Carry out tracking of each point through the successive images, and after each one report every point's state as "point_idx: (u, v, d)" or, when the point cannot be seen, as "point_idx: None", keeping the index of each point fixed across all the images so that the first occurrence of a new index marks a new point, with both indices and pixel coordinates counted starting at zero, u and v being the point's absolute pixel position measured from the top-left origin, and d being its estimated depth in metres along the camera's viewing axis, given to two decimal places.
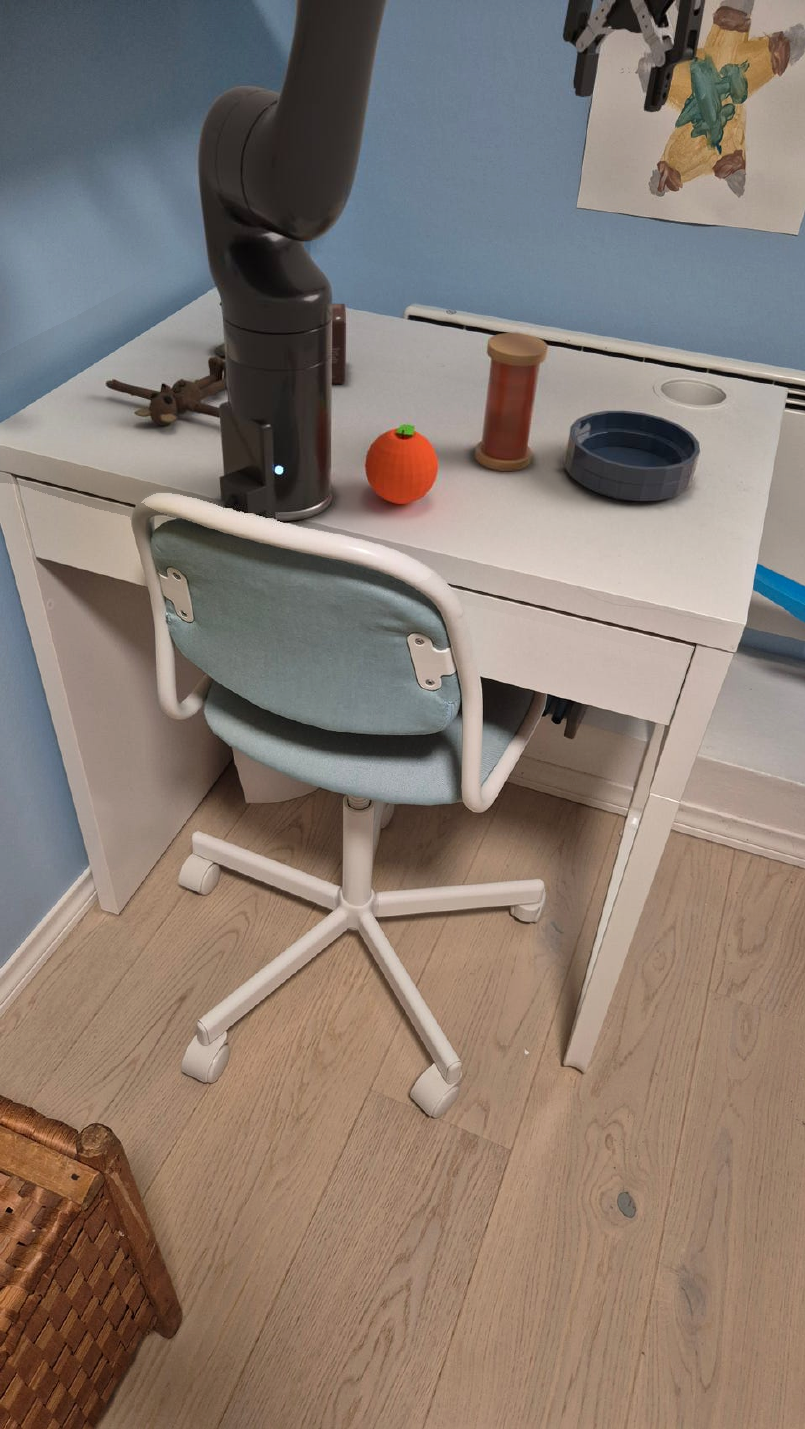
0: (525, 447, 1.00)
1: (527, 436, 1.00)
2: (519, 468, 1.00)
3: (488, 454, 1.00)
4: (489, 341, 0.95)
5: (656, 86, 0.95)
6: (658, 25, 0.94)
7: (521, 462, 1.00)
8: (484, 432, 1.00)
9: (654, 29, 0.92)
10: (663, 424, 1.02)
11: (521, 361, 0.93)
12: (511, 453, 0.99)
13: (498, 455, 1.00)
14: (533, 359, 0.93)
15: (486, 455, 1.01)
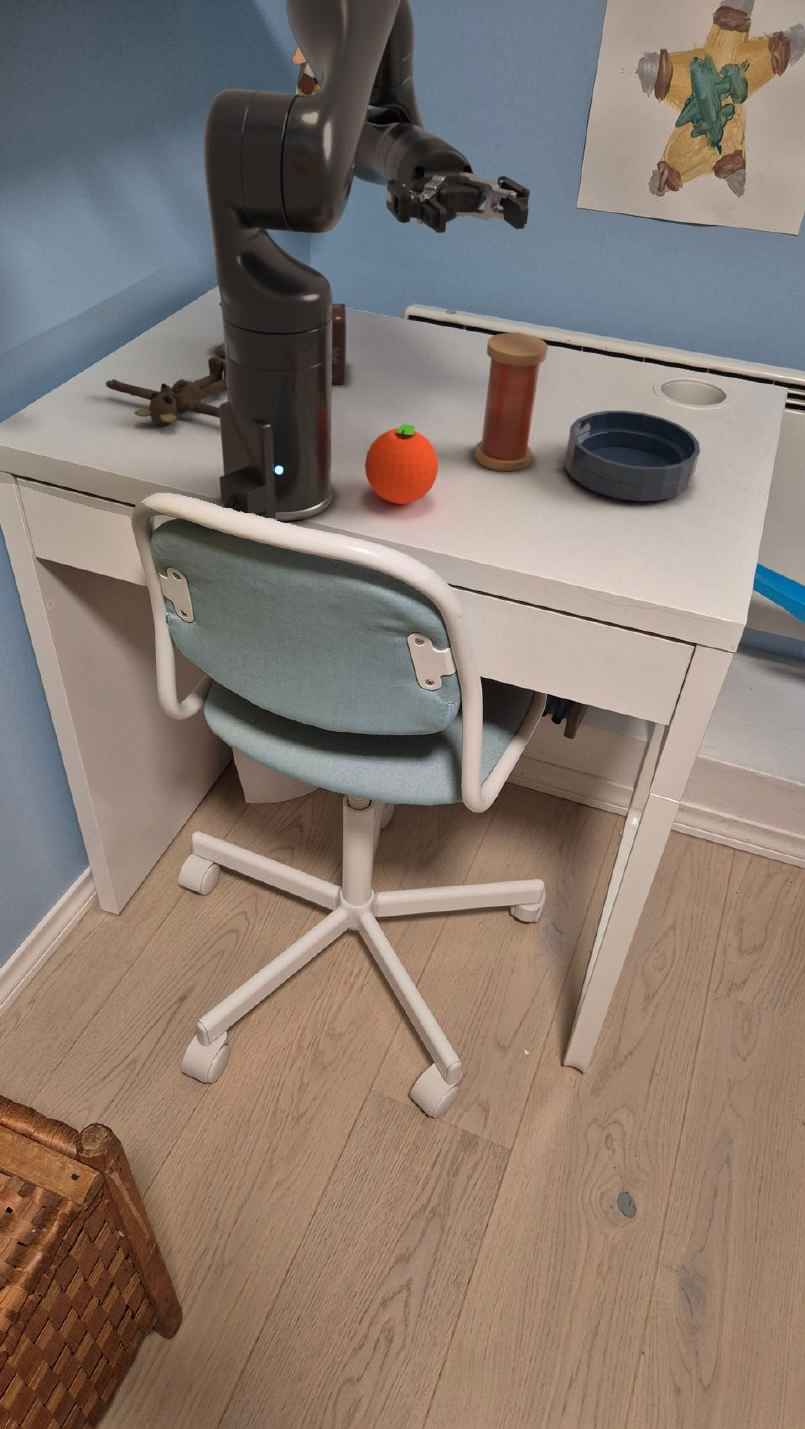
0: (525, 447, 1.00)
1: (527, 436, 1.00)
2: (519, 468, 1.00)
3: (488, 454, 1.00)
4: (489, 341, 0.95)
5: None
6: (478, 212, 1.03)
7: (521, 462, 1.00)
8: (484, 432, 1.00)
9: None
10: (663, 424, 1.02)
11: (521, 361, 0.93)
12: (511, 453, 0.99)
13: (498, 455, 1.00)
14: (533, 359, 0.93)
15: (486, 455, 1.01)
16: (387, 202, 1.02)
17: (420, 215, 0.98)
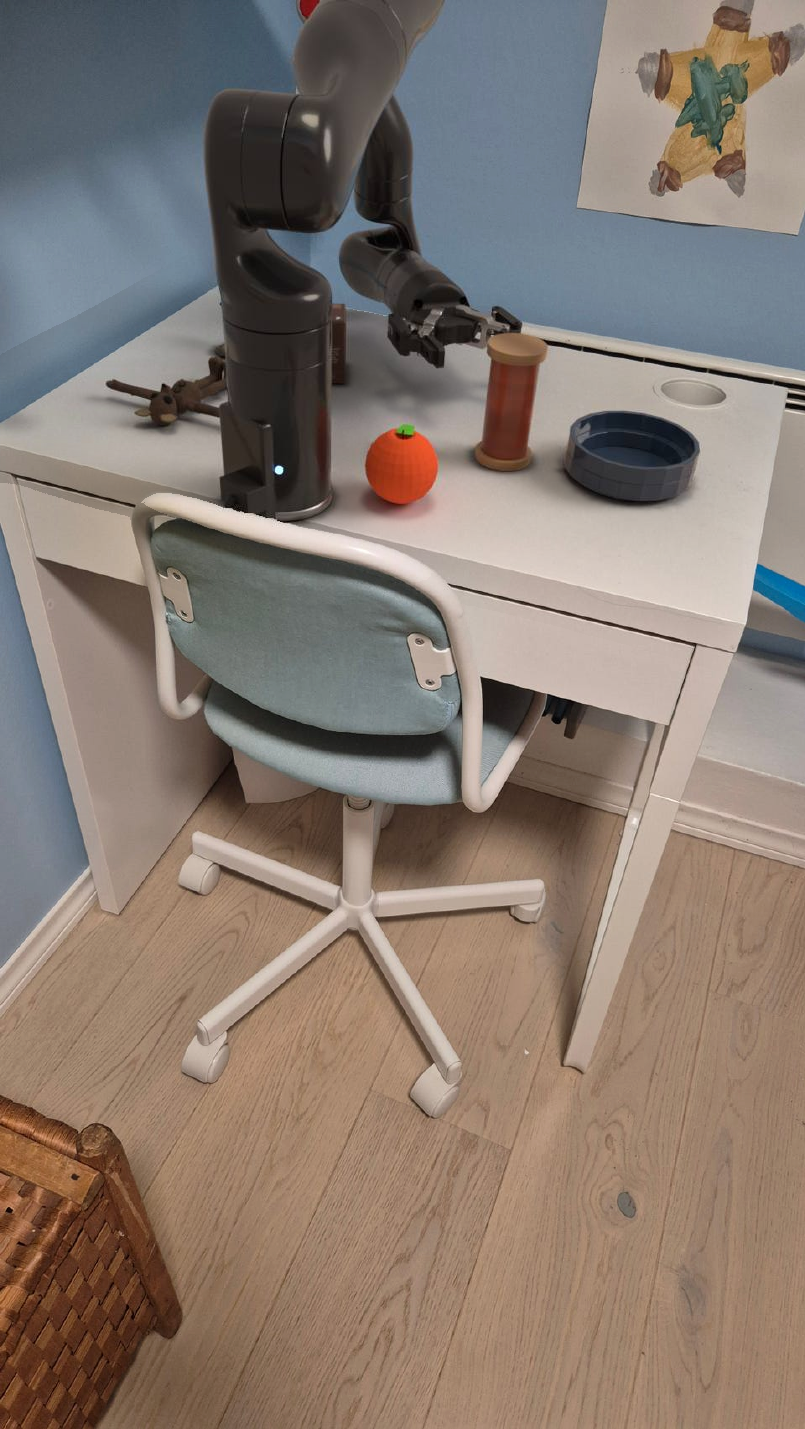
0: (525, 447, 1.00)
1: (527, 436, 1.00)
2: (519, 468, 1.00)
3: (488, 454, 1.00)
4: (489, 341, 0.95)
5: None
6: (473, 341, 1.09)
7: (521, 462, 1.00)
8: (484, 432, 1.00)
9: None
10: (663, 424, 1.02)
11: (521, 361, 0.93)
12: (511, 453, 0.99)
13: (498, 455, 1.00)
14: (533, 359, 0.93)
15: (486, 455, 1.01)
16: (388, 333, 1.08)
17: (420, 350, 1.04)
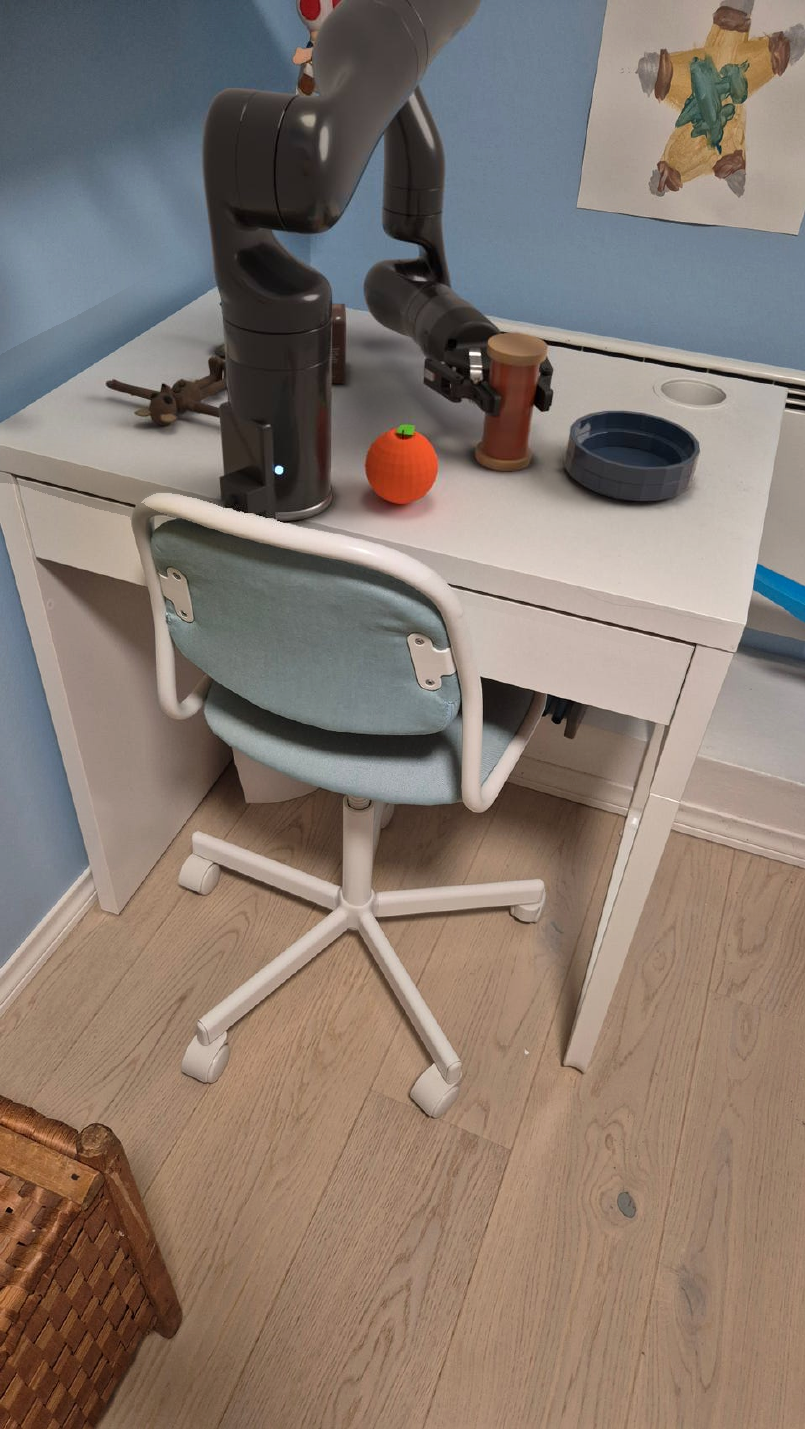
0: (525, 447, 1.00)
1: (527, 436, 1.00)
2: (519, 468, 1.00)
3: (488, 454, 1.00)
4: (489, 341, 0.95)
5: None
6: None
7: (521, 462, 1.00)
8: (484, 432, 1.00)
9: None
10: (663, 424, 1.02)
11: (521, 361, 0.93)
12: (511, 452, 0.99)
13: (498, 455, 1.00)
14: (533, 359, 0.93)
15: (486, 455, 1.01)
16: (426, 380, 1.01)
17: (473, 397, 0.97)
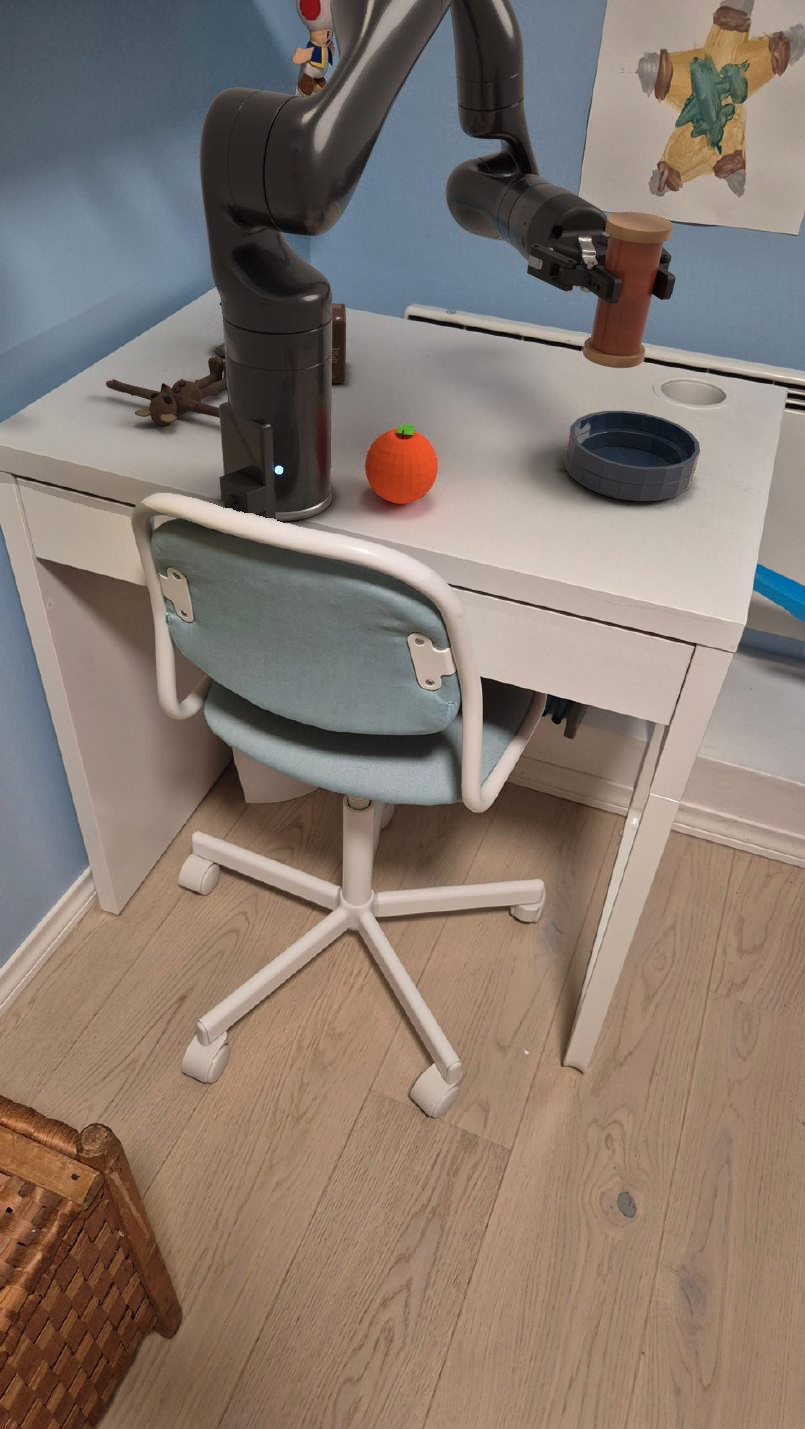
0: (640, 342, 0.92)
1: (643, 329, 0.91)
2: (633, 365, 0.92)
3: (599, 349, 0.92)
4: (608, 218, 0.86)
5: None
6: None
7: (636, 358, 0.92)
8: (596, 325, 0.91)
9: None
10: (663, 424, 1.02)
11: (646, 238, 0.84)
12: (626, 347, 0.91)
13: (611, 350, 0.91)
14: (659, 236, 0.84)
15: (597, 350, 0.92)
16: (531, 269, 0.92)
17: (586, 283, 0.89)
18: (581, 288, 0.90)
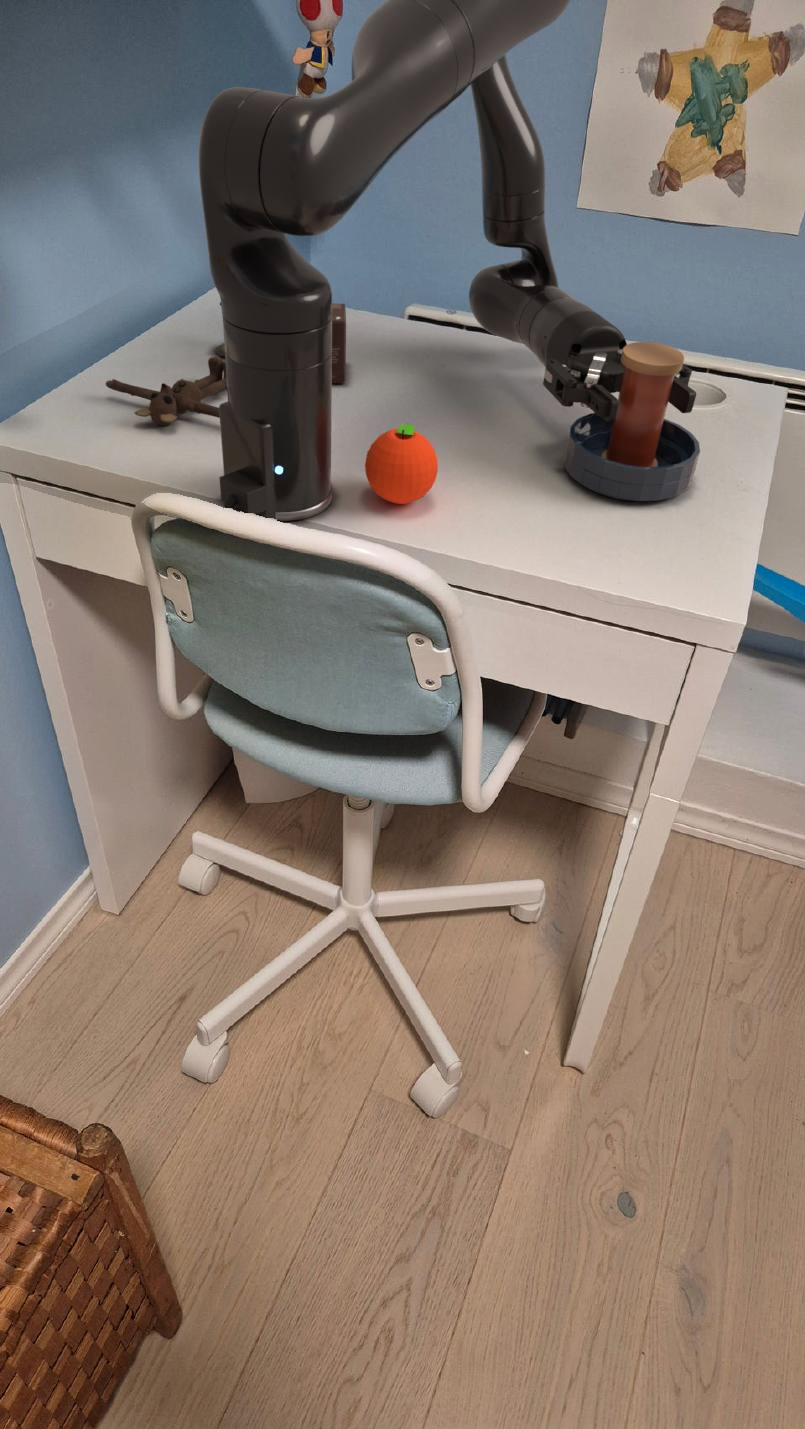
0: (653, 457, 0.99)
1: (656, 446, 0.98)
2: None
3: None
4: (624, 350, 0.93)
5: None
6: None
7: None
8: (612, 442, 0.98)
9: None
10: (663, 424, 1.02)
11: (660, 371, 0.91)
12: (640, 463, 0.98)
13: None
14: (671, 369, 0.91)
15: None
16: (545, 381, 1.00)
17: (586, 401, 0.96)
18: (580, 403, 0.97)
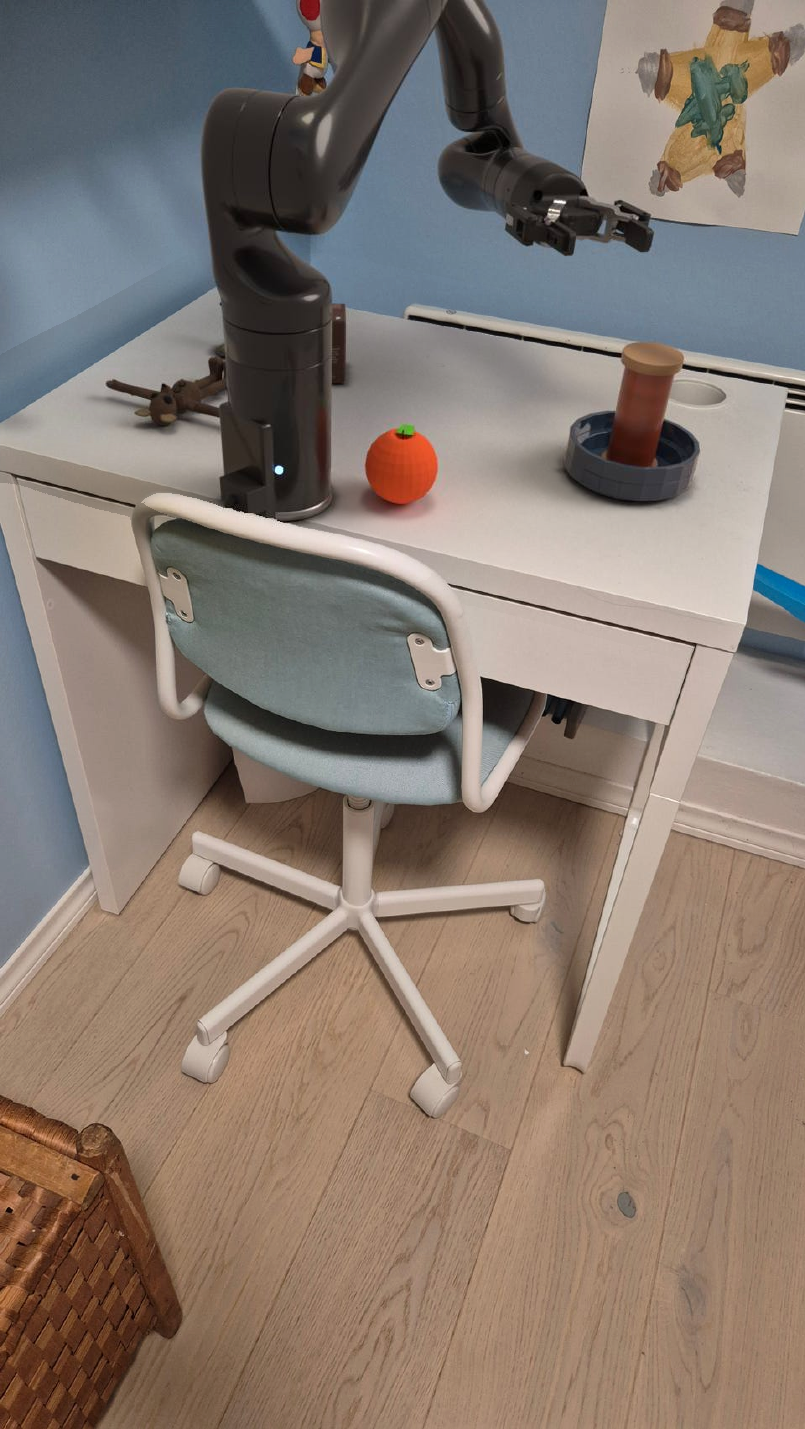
0: (653, 457, 0.99)
1: (656, 446, 0.98)
2: None
3: None
4: (624, 350, 0.93)
5: None
6: (596, 236, 1.02)
7: None
8: (612, 442, 0.98)
9: None
10: (663, 424, 1.02)
11: (660, 371, 0.91)
12: (640, 463, 0.98)
13: None
14: (671, 369, 0.91)
15: None
16: (507, 225, 1.01)
17: (545, 238, 0.97)
18: (540, 243, 0.98)
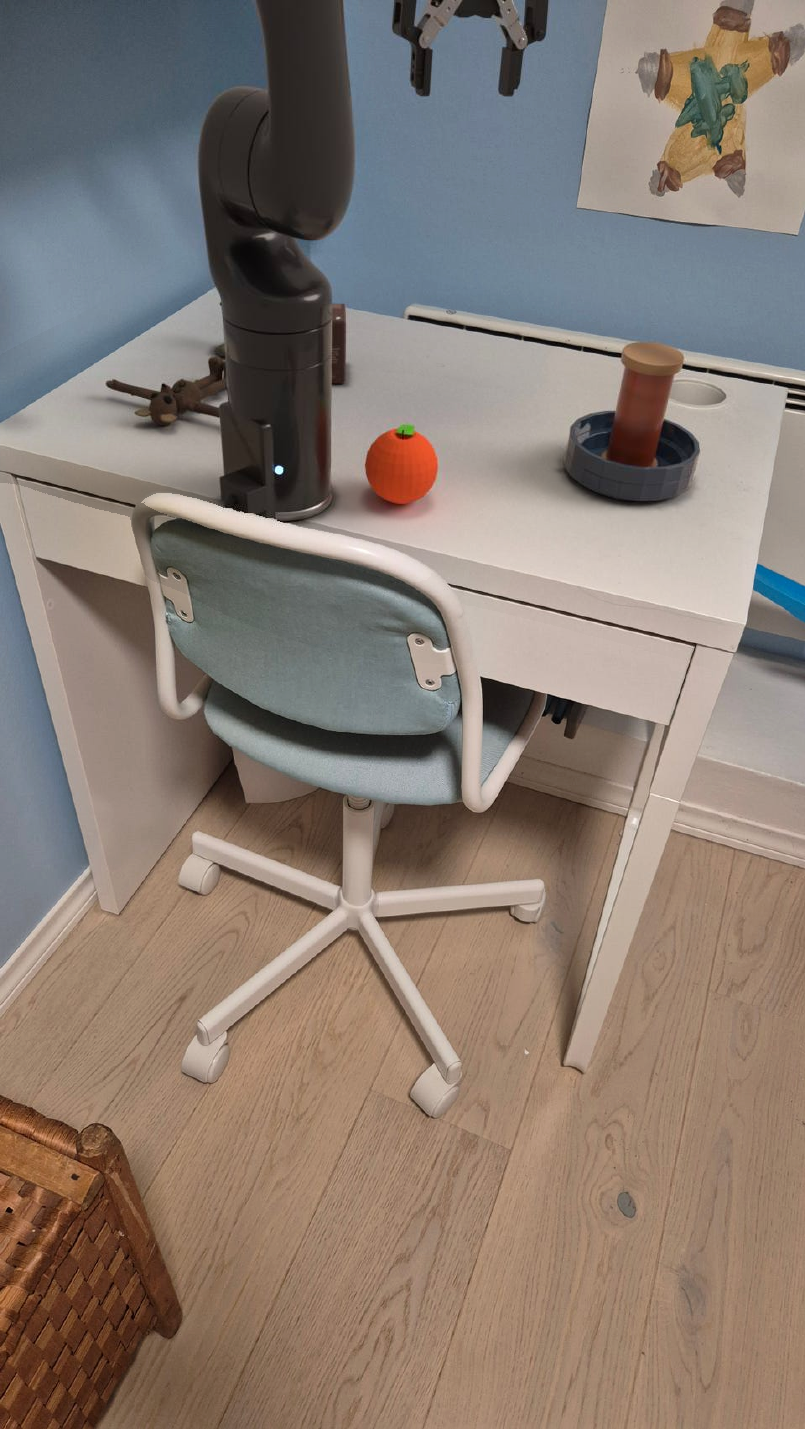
0: (653, 457, 0.99)
1: (656, 446, 0.98)
2: None
3: None
4: (624, 350, 0.93)
5: None
6: None
7: None
8: (612, 442, 0.98)
9: None
10: (663, 424, 1.02)
11: (660, 371, 0.91)
12: (640, 463, 0.98)
13: None
14: (671, 369, 0.91)
15: None
16: None
17: (412, 49, 0.89)
18: None
